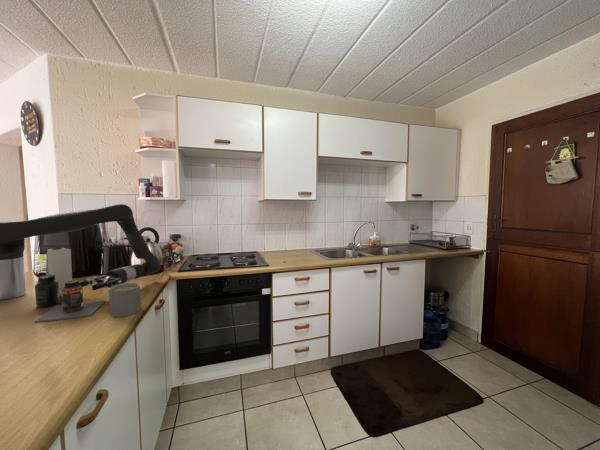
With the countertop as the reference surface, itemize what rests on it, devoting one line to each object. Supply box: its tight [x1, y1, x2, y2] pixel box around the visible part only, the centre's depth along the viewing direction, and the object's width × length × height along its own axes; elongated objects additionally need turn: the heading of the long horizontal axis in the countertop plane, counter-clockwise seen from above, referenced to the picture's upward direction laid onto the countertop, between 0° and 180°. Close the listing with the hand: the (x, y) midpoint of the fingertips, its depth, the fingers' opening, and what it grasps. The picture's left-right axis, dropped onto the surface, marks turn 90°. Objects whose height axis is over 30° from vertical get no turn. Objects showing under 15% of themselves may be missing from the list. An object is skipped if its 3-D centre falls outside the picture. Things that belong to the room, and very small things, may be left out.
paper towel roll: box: [46, 247, 73, 297], centre depth 110 cm, size 7×6×21 cm
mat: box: [34, 300, 105, 324], centre depth 95 cm, size 16×14×1 cm
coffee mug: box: [108, 282, 142, 318], centre depth 98 cm, size 13×10×10 cm
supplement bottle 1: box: [34, 274, 61, 309], centre depth 100 cm, size 7×7×12 cm
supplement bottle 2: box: [61, 279, 84, 312], centre depth 95 cm, size 6×6×11 cm
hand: (84, 286), depth 99 cm, fingers open, 8 cm apart
